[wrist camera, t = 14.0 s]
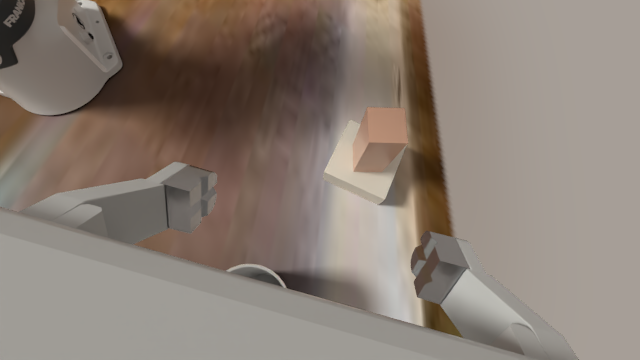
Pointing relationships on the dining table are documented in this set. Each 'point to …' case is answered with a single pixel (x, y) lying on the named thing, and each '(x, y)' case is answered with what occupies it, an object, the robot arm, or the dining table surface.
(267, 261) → the dining table surface
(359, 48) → the dining table surface
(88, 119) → the dining table surface
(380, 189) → the cream block
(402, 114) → the tan rectangular block
